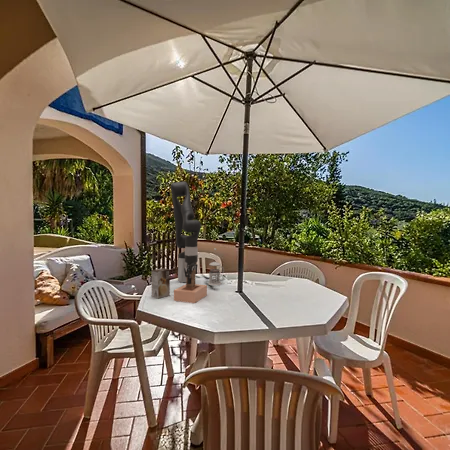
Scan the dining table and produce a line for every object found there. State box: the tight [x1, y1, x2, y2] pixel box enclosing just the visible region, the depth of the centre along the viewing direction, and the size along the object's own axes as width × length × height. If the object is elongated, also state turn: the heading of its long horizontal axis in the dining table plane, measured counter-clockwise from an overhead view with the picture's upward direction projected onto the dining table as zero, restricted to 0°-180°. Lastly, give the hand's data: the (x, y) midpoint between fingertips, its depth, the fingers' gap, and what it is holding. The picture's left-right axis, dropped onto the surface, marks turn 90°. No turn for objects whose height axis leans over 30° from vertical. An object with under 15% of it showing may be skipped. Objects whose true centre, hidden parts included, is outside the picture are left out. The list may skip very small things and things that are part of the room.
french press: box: [207, 247, 225, 286], centre depth 223 cm, size 10×12×25 cm
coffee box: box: [150, 267, 171, 299], centre depth 189 cm, size 9×6×16 cm
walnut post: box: [185, 270, 197, 288], centre depth 187 cm, size 4×4×10 cm
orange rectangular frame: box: [173, 283, 208, 304], centre depth 187 cm, size 18×13×6 cm
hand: (190, 282), depth 187 cm, fingers closed on walnut post, 4 cm apart
